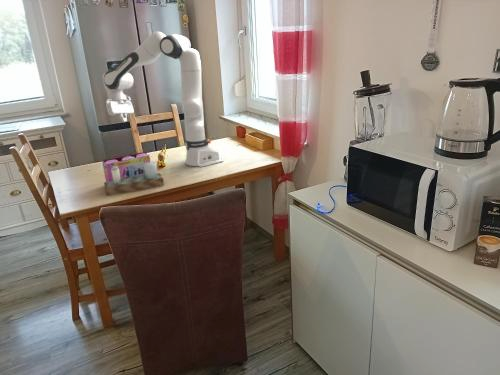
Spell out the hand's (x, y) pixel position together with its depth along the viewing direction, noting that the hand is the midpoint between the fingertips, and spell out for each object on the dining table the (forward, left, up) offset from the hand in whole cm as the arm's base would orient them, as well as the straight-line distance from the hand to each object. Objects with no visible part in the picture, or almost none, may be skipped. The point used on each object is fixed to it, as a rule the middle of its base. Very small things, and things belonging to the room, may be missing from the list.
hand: (124, 121), depth 234 cm
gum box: (+6, +38, -24) cm, 45 cm away
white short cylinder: (-4, +47, -19) cm, 51 cm away
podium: (+5, +47, -24) cm, 53 cm away
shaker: (+13, +47, -19) cm, 53 cm away
